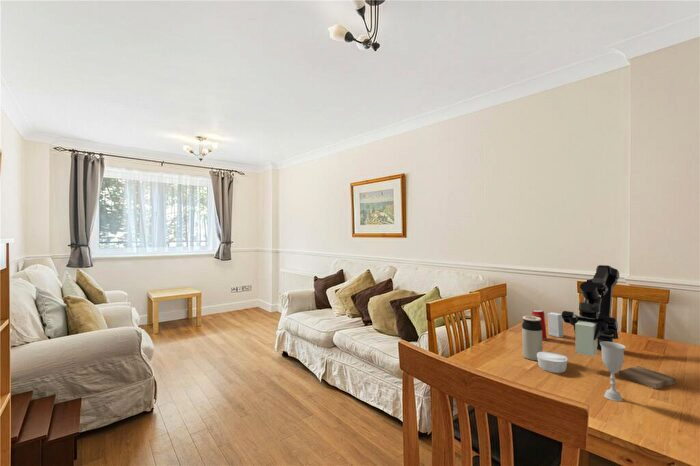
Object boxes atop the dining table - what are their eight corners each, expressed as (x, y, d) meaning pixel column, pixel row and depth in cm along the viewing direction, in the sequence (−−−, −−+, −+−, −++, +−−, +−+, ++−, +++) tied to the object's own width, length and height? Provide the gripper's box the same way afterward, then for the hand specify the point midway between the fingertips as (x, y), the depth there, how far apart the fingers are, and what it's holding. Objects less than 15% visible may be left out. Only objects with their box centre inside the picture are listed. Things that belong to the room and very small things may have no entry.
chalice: (595, 392, 117) (594, 341, 117) (613, 391, 117) (612, 340, 117) (613, 403, 110) (612, 349, 110) (632, 402, 110) (631, 348, 110)
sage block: (579, 349, 141) (579, 321, 141) (597, 352, 136) (596, 323, 136) (575, 352, 137) (575, 323, 137) (593, 356, 132) (592, 326, 132)
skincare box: (564, 336, 179) (563, 314, 179) (558, 337, 177) (558, 315, 177) (552, 333, 184) (552, 311, 184) (547, 334, 182) (547, 312, 182)
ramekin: (557, 376, 130) (557, 363, 130) (530, 366, 140) (530, 354, 140) (574, 370, 136) (573, 358, 136) (547, 361, 145) (546, 349, 145)
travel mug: (523, 359, 148) (522, 319, 148) (521, 353, 155) (521, 315, 155) (544, 361, 145) (543, 320, 145) (541, 355, 152) (540, 316, 152)
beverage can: (548, 340, 173) (547, 311, 173) (534, 340, 174) (534, 311, 174) (544, 337, 178) (543, 309, 178) (531, 336, 180) (530, 308, 180)
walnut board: (638, 370, 134) (638, 366, 134) (675, 383, 123) (675, 378, 123) (618, 375, 130) (618, 370, 130) (656, 389, 119) (655, 383, 119)
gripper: (562, 292, 146) (554, 322, 139) (615, 297, 132) (610, 331, 125) (568, 307, 151) (560, 336, 144) (620, 314, 137) (615, 347, 130)
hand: (585, 337), depth 136 cm, fingers closed on sage block, 6 cm apart
